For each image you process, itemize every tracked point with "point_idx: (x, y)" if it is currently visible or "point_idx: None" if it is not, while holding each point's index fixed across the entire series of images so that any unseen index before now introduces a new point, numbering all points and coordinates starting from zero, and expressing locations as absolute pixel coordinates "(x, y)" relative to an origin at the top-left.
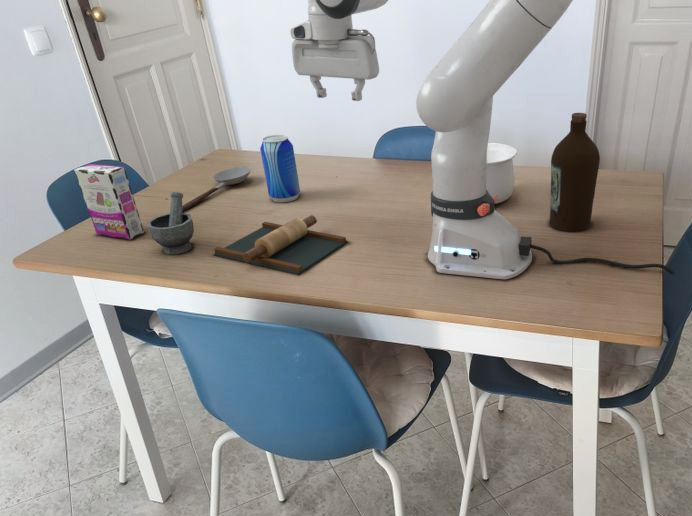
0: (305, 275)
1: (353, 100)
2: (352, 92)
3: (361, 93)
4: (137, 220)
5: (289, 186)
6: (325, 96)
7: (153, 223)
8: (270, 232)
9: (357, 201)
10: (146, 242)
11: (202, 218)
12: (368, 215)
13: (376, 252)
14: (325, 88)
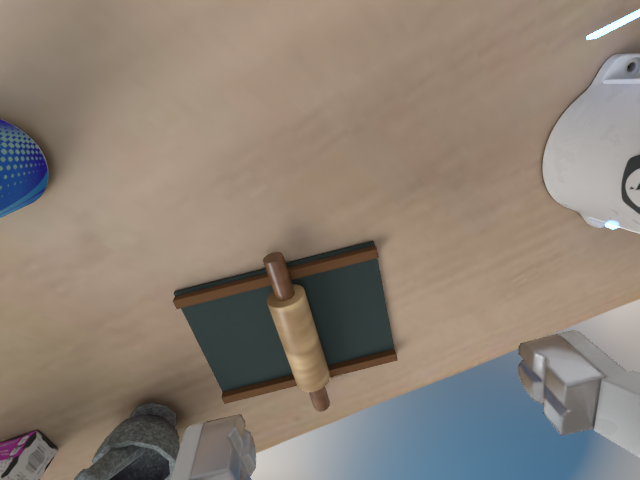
0: (404, 349)
1: (523, 374)
2: (572, 431)
3: (608, 358)
4: (24, 459)
5: (27, 180)
6: (242, 423)
7: (114, 477)
8: (299, 368)
9: (187, 45)
10: (86, 437)
11: (25, 345)
12: (298, 107)
13: (449, 235)
14: (233, 475)
